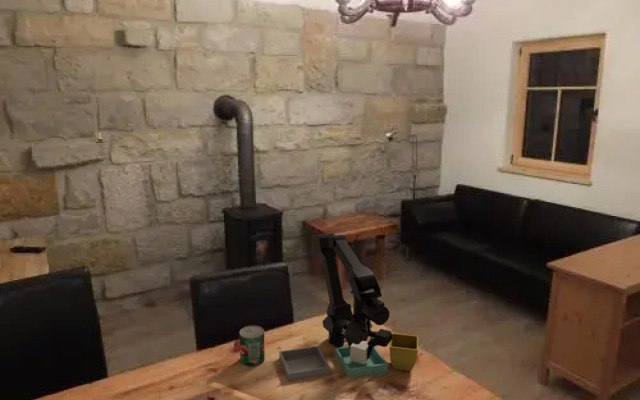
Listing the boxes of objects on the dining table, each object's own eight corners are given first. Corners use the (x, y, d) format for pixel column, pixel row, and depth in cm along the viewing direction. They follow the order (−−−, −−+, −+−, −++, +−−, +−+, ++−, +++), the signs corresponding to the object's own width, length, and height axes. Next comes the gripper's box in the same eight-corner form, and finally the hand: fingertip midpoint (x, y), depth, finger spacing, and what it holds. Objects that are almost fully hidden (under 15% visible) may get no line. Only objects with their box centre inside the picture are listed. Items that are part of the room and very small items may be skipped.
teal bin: (334, 357, 155) (334, 348, 154) (371, 352, 159) (371, 342, 158) (348, 380, 143) (348, 370, 142) (387, 373, 147) (387, 363, 146)
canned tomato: (269, 362, 152) (269, 331, 150) (250, 372, 146) (250, 340, 144) (254, 353, 157) (253, 323, 155) (235, 362, 152) (234, 331, 149)
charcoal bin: (279, 361, 153) (279, 351, 152) (317, 355, 156) (317, 345, 156) (288, 384, 141) (288, 373, 140) (329, 377, 144) (329, 367, 144)
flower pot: (416, 376, 146) (418, 349, 144) (388, 372, 147) (389, 346, 146) (416, 360, 154) (418, 335, 152) (389, 357, 156) (391, 332, 154)
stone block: (350, 360, 149) (350, 346, 148) (356, 352, 154) (356, 338, 152) (364, 364, 147) (365, 350, 146) (370, 357, 151) (371, 342, 150)
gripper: (323, 314, 144) (323, 360, 148) (381, 329, 136) (378, 377, 139) (339, 301, 154) (338, 344, 157) (394, 314, 145) (391, 359, 149)
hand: (360, 356), depth 150 cm, fingers closed on stone block, 5 cm apart
